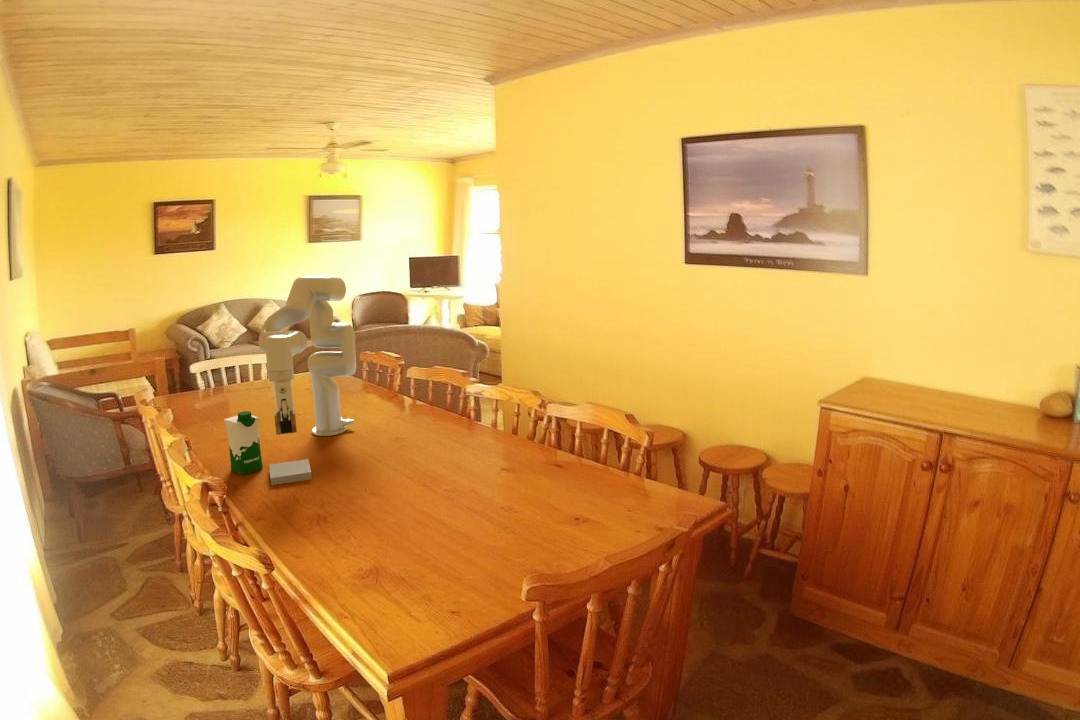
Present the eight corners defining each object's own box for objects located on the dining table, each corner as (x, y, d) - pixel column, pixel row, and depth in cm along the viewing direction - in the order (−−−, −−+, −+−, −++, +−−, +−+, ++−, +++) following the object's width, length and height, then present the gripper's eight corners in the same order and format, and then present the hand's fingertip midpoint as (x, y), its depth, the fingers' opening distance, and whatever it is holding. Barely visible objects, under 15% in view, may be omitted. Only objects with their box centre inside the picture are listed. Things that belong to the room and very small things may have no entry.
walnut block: (295, 426, 206) (294, 409, 204) (296, 432, 200) (295, 414, 199) (275, 429, 203) (274, 411, 202) (276, 434, 198) (274, 416, 197)
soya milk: (242, 477, 204) (235, 417, 199) (226, 471, 209) (219, 413, 204) (267, 468, 211) (261, 411, 206) (251, 462, 216) (245, 406, 211)
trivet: (308, 466, 213) (308, 459, 212) (311, 479, 202) (311, 472, 202) (270, 471, 208) (269, 464, 208) (271, 485, 197) (270, 478, 197)
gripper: (295, 379, 192) (300, 436, 196) (292, 367, 207) (297, 420, 211) (268, 382, 189) (274, 439, 193) (267, 369, 204) (272, 423, 208)
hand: (286, 428), depth 202 cm, fingers closed on walnut block, 6 cm apart
